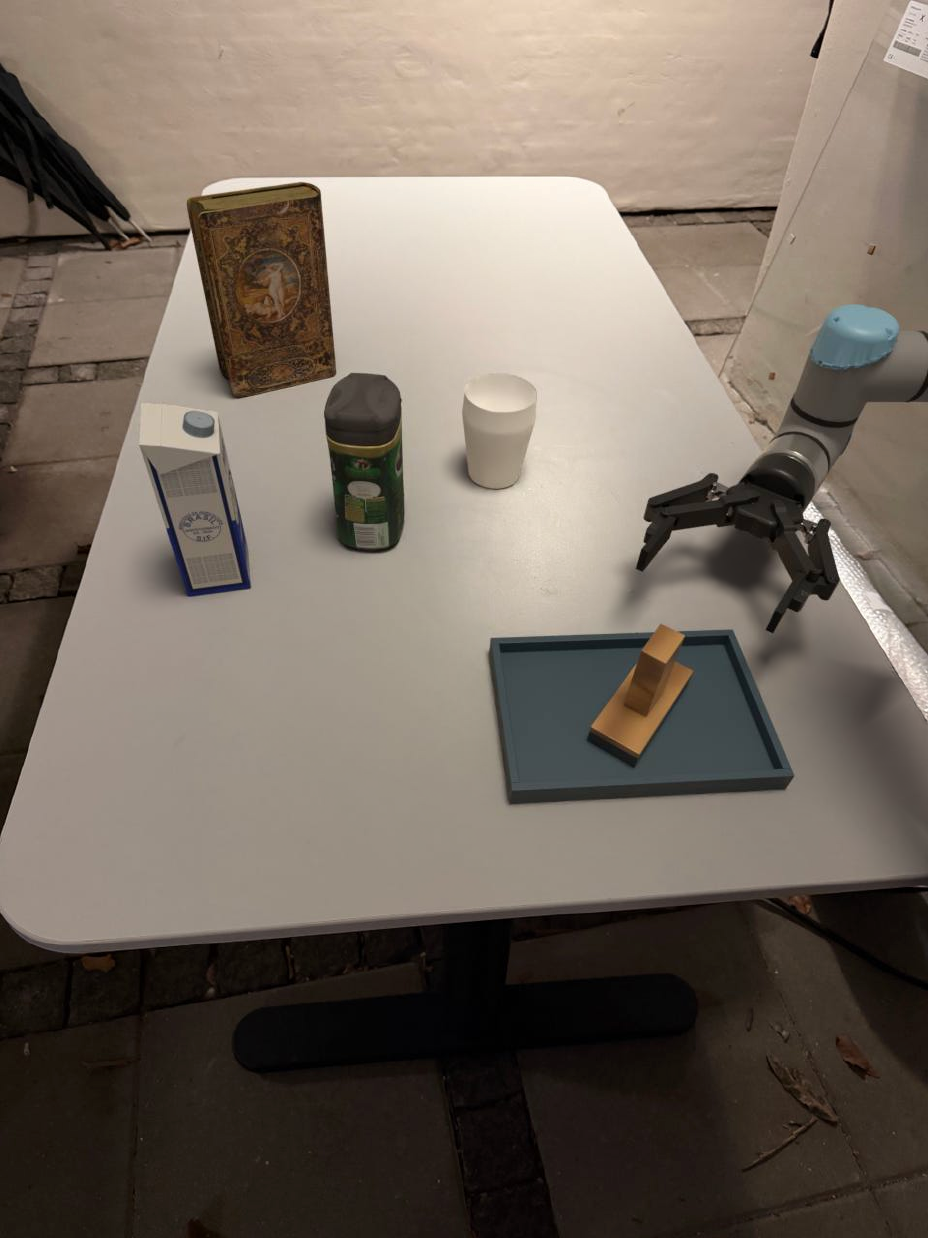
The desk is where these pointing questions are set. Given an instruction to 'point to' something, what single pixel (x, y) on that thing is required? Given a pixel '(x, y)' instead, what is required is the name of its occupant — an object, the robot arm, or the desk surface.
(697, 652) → the tray
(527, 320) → the desk surface
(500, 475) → the cup
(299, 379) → the book
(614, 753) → the wooden block on base
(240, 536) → the milk carton
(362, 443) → the coffee jar
